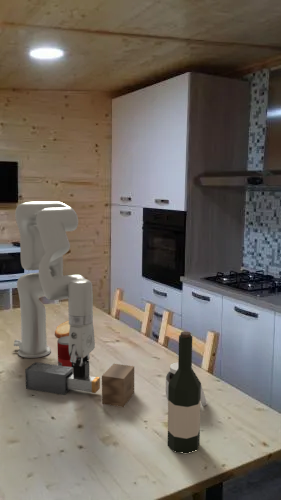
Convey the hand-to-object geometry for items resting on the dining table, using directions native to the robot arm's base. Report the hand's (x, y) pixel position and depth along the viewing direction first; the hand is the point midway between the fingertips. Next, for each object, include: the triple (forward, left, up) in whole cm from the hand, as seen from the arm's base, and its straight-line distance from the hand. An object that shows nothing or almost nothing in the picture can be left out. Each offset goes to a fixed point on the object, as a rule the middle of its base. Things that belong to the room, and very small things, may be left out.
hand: (81, 374), depth 149 cm
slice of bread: (-30, +55, -7) cm, 63 cm away
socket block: (+13, 0, -6) cm, 14 cm away
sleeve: (-11, 0, -6) cm, 13 cm away
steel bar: (-5, 0, -5) cm, 7 cm away
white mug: (+34, +4, -7) cm, 34 cm away
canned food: (-12, +16, -6) cm, 21 cm away
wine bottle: (+38, -19, -6) cm, 43 cm away
